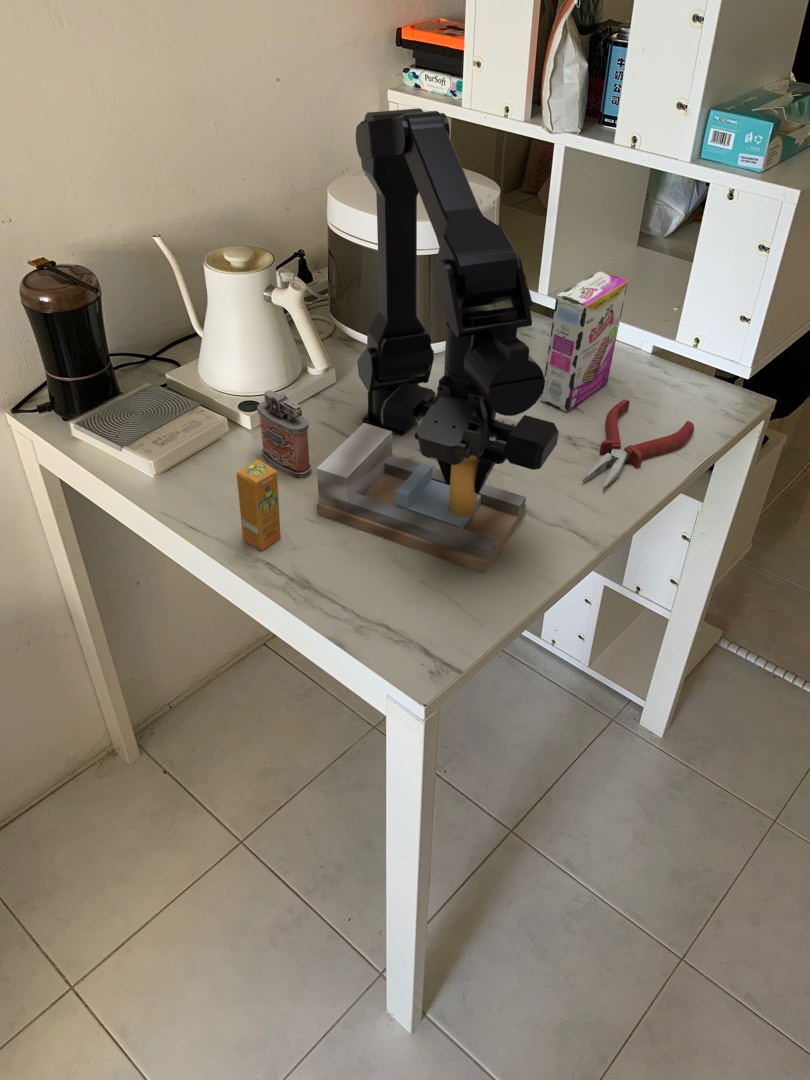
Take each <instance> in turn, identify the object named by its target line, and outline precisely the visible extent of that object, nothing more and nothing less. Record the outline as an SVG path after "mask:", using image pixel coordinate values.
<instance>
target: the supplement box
mask: <svg viewBox="0 0 810 1080" xmlns="http://www.w3.org/2000/svg"><path fill="white" fill-rule="evenodd" d="M236 481H237V482H236V483H237V491H238V501H239V502H238V503H239V512H240V513H239V514H240V520H241V522H240V523H241V532H242V539H243V540H244V541H245V542H246V543H248V544H249V545H251V546H253V547H254V548H255V549H258V550H260V551H264V550H266V549H267V548H269V547H271V545H273V544H274V543H276V542H277V541H278V540H280V539H281V520H280V505H279V502H280V501H279V488H278V470H277V469H275V468H274V467H271V465H269V464H268V463H265V462H263V461H261V460H260V459H256V460H254V461H253V463H250V464H249V465H247V466H245V467H244V468H240V469H238V470H237V471H236Z"/></svg>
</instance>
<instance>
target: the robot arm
mask: <svg viewBox="0 0 810 1080" xmlns="http://www.w3.org/2000/svg"><path fill="white" fill-rule="evenodd" d="M450 133H451V132H450V123H449V120H448V116H447V115H446V114H445V113H444V112H439V111H437V110H430V111H427V110H426V111H424V110H423V109H421V108H408V109H407V108H406V109H393V110H385V111H384V110H381V111H369V112H366V113H365V115H364V119H363V120H362V121H360V123H358V124H357V125H356V129H355V144H356V145H355V146H356V150H357V154H358V156H359V158H360V161H361V162H360V164H361V169H362V172H364V174H365V177H367V179H368V180H369V183H370V184H371V186H372V187H373V189H374V190H375V194H376V226H377V231H376V232H377V233H376V234H377V265H378V267H377V269H378V273H377V274H378V304H379V305H378V307H379V310H378V313H377V314H376V316H375V318H374V319H373V321H372V322H371V324H370V325H369V328H368V329H367V335H366V340H367V341H366V344H367V345H366V348H365V349H364V350H363V352H362V353H361V354H360V356H359V357H358V359H357V360H356V361H357V362H356V363H357V364H356V366H357V370H358V371H357V372H358V377H359V380H360V381H361V383H362V384H363V386H364V387H365V389H366V390H367V414H365V416H364V417H363V418H362V421H361V423H362V424H363V423H366V424H369V425H373V426H376V427H379V428H383V429H386V430H389V431H392V434H397V435H399V436H403V435H405V434H406V433H407V432H408V431H409V430H410V429H411V428H412V426H414V425H415V424H416V423H417V429H416V432H415V433H414V435H413V436H414V439H415V440H417V442H418V446H419V451H420V453H421V455H422V456H423V457H425V458H427V459H431V458H433V459H435V460H437V461H436V462H437V463H438V466H439V470H441V472H442V474H443V477H444V479H445V482H446V484H448V485H450V475H451V465H457V464H460V463H461V462H462V461H463V460H464V458H467V459H468V458H469V457H470V456H471V455H474V456H476V457H477V459H478V460H479V463H478V468H477V474H476V480H475V493H477V494H478V493H479V492H480V491H481V489H482V487H483V486H484V484H486V482H487V480H488V479H489V476H490V475H491V472H492V471H493V468H494V467H495V465H501V464H504V463H505V462H506V460H507V461H508V463H509V464H513V465H515V466H519V467H521V468H525V469H529V470H532V471H533V470H534V471H535V470H540V469H541V468H542V467H543V465H544V464H545V463H546V461H547V459H548V458H549V457H550V455H551V454H552V452H553V451H554V449H555V448H556V446H557V445H558V440H559V439H558V438H559V429H558V428H557V426H556V424H555V423H554V422H552V421H548V420H545V419H542V418H537V417H533V416H530V415H526V414H524V415H523V416H522V417H521V418H520V419H519V421H515V420H512V419H508V418H503V417H502V418H498V419H496V416H497V414H499V415H502V416H504V417H505V416H506V417H509V416H511V417H512V416H513V417H514V416H517V415H521V414H523V413H525V412H526V411H528V410H529V409H531V408H533V406H535V404H536V403H537V402H538V401H539V399H541V396H542V392H543V390H544V386H545V379H544V376H545V374H544V372H543V370H542V368H541V366H540V365H539V364H538V363H537V362H536V361H535V360H534V359H533V358H532V357H531V356H530V347H529V346H528V344H526V343H525V342H524V341H522V340H520V339H519V337H517V335H518V334H517V333H518V329H519V328H527V327H531V326H532V325H533V320H532V313H531V309H532V307H533V306H534V304H533V300H532V296H531V292H530V289H529V285H528V281H527V278H526V273H525V269H524V266H523V264H522V263H523V262H522V259H521V257H520V255H519V253H518V252H517V251H516V249H515V247H514V246H513V244H512V242H511V240H510V238H509V237H508V235H507V234H506V231H505V230H504V229H503V228H502V227H501V226H500V225H498V224H496V223H495V222H493V221H492V220H490V219H489V218H487V217H485V216H484V214H483V213H482V210H481V208H480V207H479V204H478V201H477V199H476V198H475V195H474V192H473V190H472V187H471V185H470V183H469V181H468V178H467V175H466V173H465V171H464V168H463V166H462V164H461V161H460V159H459V156H458V155H457V152H456V150H455V146H454V145H453V142H452V140H451V136H450ZM418 195H420V198H421V201H422V204H423V207H424V209H425V211H426V214H427V217H428V219H429V221H430V224H431V227H432V228H433V231H434V234H435V236H436V241H437V243H438V247H439V249H438V251H437V255H436V260H435V263H434V270H435V283H436V288H437V289H436V290H437V292H438V295H439V299H440V302H441V304H442V308H443V310H444V314H445V318H446V327H445V328H446V329H445V347H444V348H445V349H444V350H445V351H444V370H443V373H444V374H443V376H442V377H441V378H440V379H439V380H438V386H437V389H436V390H437V392H435V391H434V390H433V388H428V387H424V386H420V384H426V383H428V384H429V379H430V376H431V372H432V368H433V364H434V360H435V357H434V354H435V351H434V349H433V346H432V339H431V336H430V335H429V333H428V332H427V331H426V329H425V328H424V325H423V324H422V322H421V321H420V320H419V318H418V315H417V313H418V311H417V309H418V308H417V307H418V306H417V303H418V302H417V301H418V299H417V298H418V297H417V296H418V295H417V294H418V290H417V289H418V287H417V286H418V285H417V279H418V278H417V275H418V274H417V273H418V272H417V270H418V268H417V266H418V260H417V258H418V257H417V255H418V254H417V253H418V248H417V247H418V246H417V244H418V242H417V241H418V238H417V237H418V226H417V225H418V223H417V222H418V215H417V214H418V212H417V211H418V210H417V209H418V201H417V200H418ZM509 301H511V304H512V306H511V307H510V306H509V307H504V308H503V307H502V308H496V309H492V307H490V306H489V305H494V304H495V305H496V304H502V303H509Z"/></svg>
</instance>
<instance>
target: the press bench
mask: <svg viewBox="0 0 810 1080" xmlns="http://www.w3.org/2000/svg"><path fill="white" fill-rule="evenodd" d="M420 464H421V463H419V462H416V461H412V460H409V459H407V458H403V457H401V456H396V455H393V432H392V431H389V430H386V429H383V428H379V427H376V426H373V425H369V424H366V423H362V424H361V425H360V426H358V428H356V429H355V431H354V432H353V433H352V434H350V435H349V437H347V438H346V439H345V440H344V441H343V442H342V443H341V444H340V445H339V446H338V447H337V448H336V449H335V450H334V451H333V452H332V453H331V454H330V455H329V456H328V457H327V458H326V459H325V460H323V462H321V463H320V465H318V466H317V468H316V476H317V492H318V502H317V503H316V512H317V513H316V514H317V516H318V515H319V516H321V517H323V518H324V517H325V518H327V519H330V520H333V521H335V522H338V523H341V524H344V525H347V526H349V527H353V528H355V529H358V530H360V531H363V532H367V533H370V534H372V535H375V536H377V537H381V538H383V539H387V540H389V541H391V542H395V543H398V544H401V545H403V546H405V547H409V548H411V549H414V550H418V551H420V552H423V553H426V554H428V555H431V556H434V557H438V558H440V559H443V560H445V561H449V562H452V563H454V564H458V565H460V566H462V567H465V568H469V569H472V570H475V571H477V572H480V573H483V574H486V573H488V570H489V569H490V567H491V566H492V564H493V563H494V561H495V560H496V558H497V557H498V555H499V553H501V551H502V549H503V548H504V546H505V545H506V543H507V542H508V540H509V539H510V538H511V535H512V534H513V533H514V531H515V530H516V529H517V527H518V525H519V524H520V522H522V519H523V518H524V516H525V515H526V510H527V504H526V499H527V497H526V496H524V495H521V494H518V493H515V492H511V491H508V490H505V489H502V488H499V487H496V486H492V485H490V484H486V483H485V484H484V486H483V487H482V489H481V491H480V492H479V493H478V495H481V504H480V506H479V507H478V509H477V510H476V512H475V513H474V514H473V516H472V517H471V518H470V520H469V521H468V522H467V524H466V525H465V526H464V528H463V529H461V528H458V527H455V526H452V525H449V524H446V523H443V522H440V521H437V520H434V519H432V518H429V517H426V516H423V515H420V514H417V513H414V512H411V511H408V510H405V509H402V508H399V507H396V491H397V490H398V489H399V488H400V487H401V485H402V484H403V483H404V482H405V481H406V480H407V479H408V478H409V476H410V475H411V474H412V473H413V472H414V471H415V470H416V468H417V467H418V466H419V465H420ZM432 480H434V481H437V482H440V483H443V484H446V482H445V479H444V477H443V474H442V472H441V469H440V468H439V469H438V468H436V467H433V470H432ZM447 485H448V484H447Z"/></svg>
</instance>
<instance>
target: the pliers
mask: <svg viewBox="0 0 810 1080" xmlns="http://www.w3.org/2000/svg"><path fill="white" fill-rule="evenodd" d="M630 404H631V403H630V400H628V399H622V400H620V401H619V402H618V403H616V405H614V406H613V407H612V408H611V409H610V410H608V413H607V414H606V418H605V435H606V439H604V440H603V441H602V442H601V443H600V446H599V447H600V448H599V450H598V451H599V452H598V454H599V456H601V457H600V459H598V460H597V461H596V463H595V464H594V465H593V466H592V468H591V469H590V470H589V471H588V473H587V474H585V477H584V478H583V479H582V482H583V483H585V482H587V481H588V480H591V479H592V478H594V477H596V476H599V475H600V474H602V473H604V472H605V471H607V467H608V466H610V467H611V469H610V471H609V473H608V476H607V477H606V480H605V482H604V485H603V486H602V490H605V488H607V487H608V486H609V485H610V484H611V483H612V482H613V481H615V479H617V478H618V477H619V476H620V474H621V473H622V471H623V468H624V466H625V465H627V466H628V465H631V466H632V467H633V468H634V469H636V470H637V469H640V468H641V466H642V462H643V461H644V460H647V459H652V458H656V457H658V456H661V455H666V454H669V453H672V452H674V451H678V450H679V449H681V448H683V447H684V446H686V444H687V442H689V440H690V438H692V436H693V434H694V432H695V425H694V423H693V422H691V421H690V420H686V421H685V423H684V424H683V425H682V427H681V428H680V429H679V430H678V431H677V432H674V433H672V434H669V435H666V436H662V437H658V438H655V439H651V440H648V441H643V442H639V443H637V444H630V445H628V446H626V447H625V446H624V447H623V448H624V449H622V446H621V444H622V443H621V435H620V430H619V422H618V420H619V419H620V418H622V417H623V416H624V415H625V414H626V412H628V411H629V408H630Z"/></svg>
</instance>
